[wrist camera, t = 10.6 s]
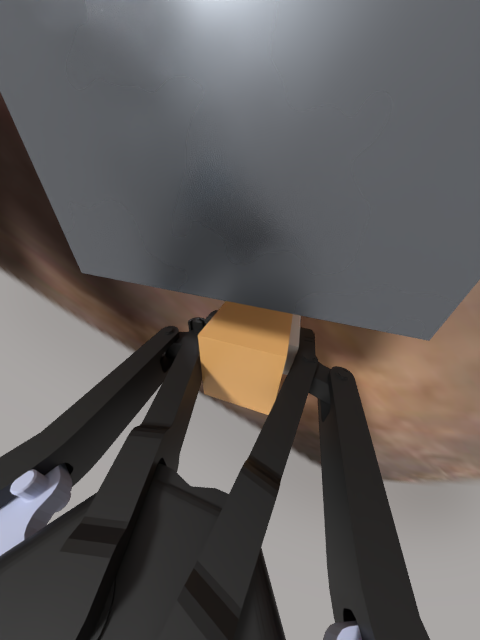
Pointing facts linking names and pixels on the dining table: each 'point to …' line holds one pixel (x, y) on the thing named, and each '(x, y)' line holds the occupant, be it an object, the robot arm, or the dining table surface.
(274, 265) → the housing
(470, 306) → the dining table surface
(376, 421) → the dining table surface
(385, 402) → the dining table surface
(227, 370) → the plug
